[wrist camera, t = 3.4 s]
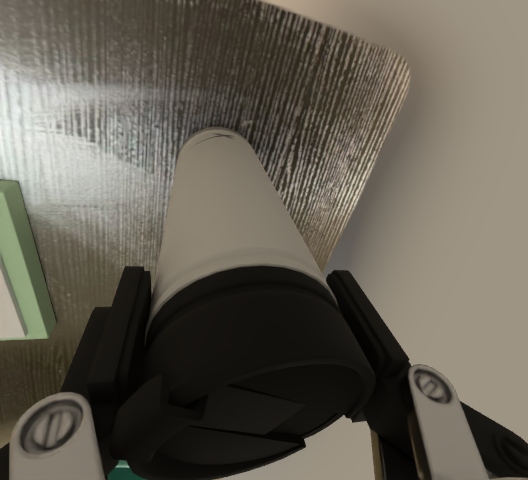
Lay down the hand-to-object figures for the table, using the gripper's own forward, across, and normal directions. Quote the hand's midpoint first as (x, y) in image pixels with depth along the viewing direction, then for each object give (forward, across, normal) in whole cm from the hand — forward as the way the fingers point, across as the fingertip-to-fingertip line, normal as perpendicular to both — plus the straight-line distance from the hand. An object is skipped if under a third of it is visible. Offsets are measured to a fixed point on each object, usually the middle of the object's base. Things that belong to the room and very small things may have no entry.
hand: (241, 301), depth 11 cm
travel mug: (+15, 0, 0) cm, 15 cm away
